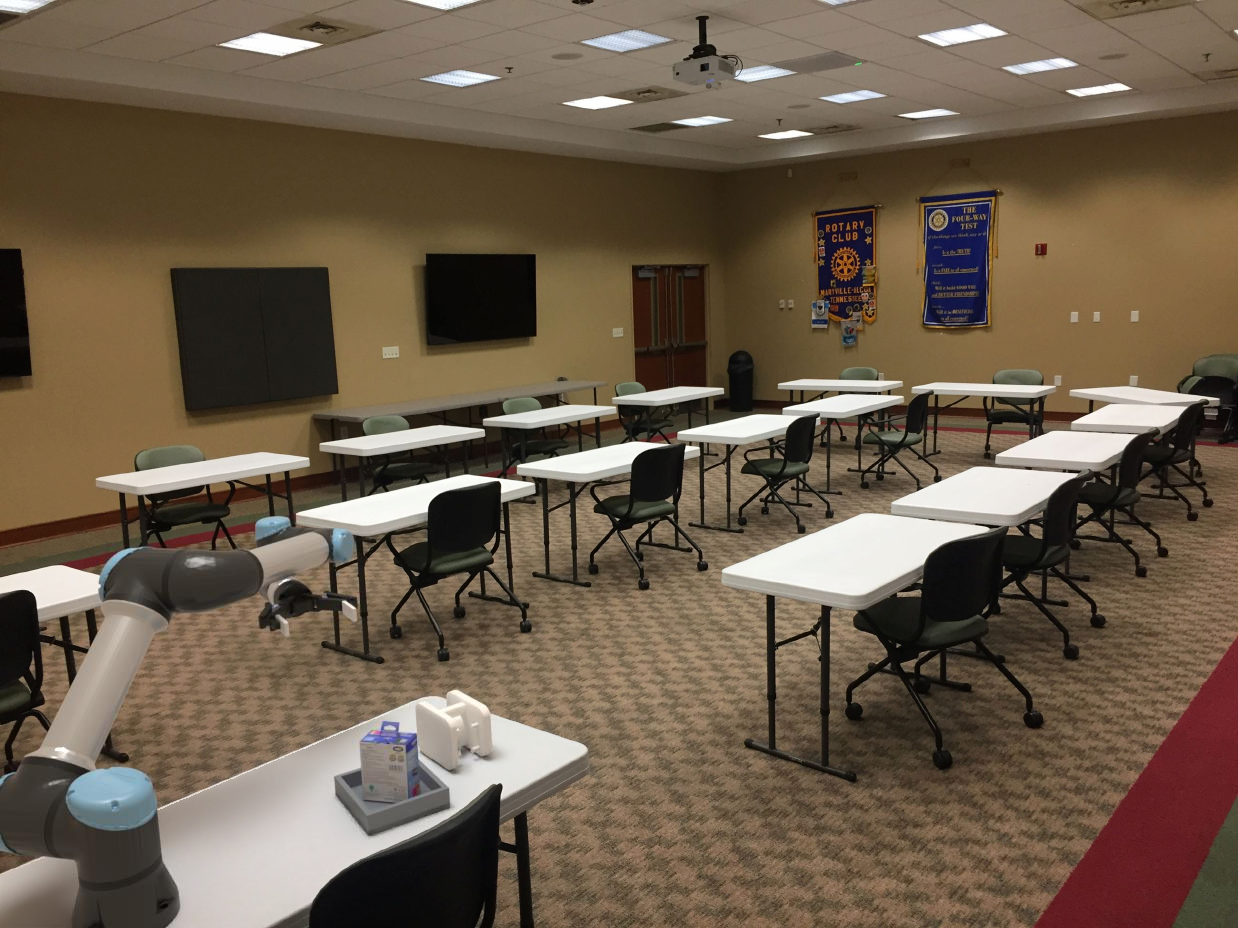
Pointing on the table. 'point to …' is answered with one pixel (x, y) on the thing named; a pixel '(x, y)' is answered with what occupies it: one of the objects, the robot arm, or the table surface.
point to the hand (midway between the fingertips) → (321, 622)
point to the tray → (389, 814)
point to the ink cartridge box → (389, 765)
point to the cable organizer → (453, 729)
